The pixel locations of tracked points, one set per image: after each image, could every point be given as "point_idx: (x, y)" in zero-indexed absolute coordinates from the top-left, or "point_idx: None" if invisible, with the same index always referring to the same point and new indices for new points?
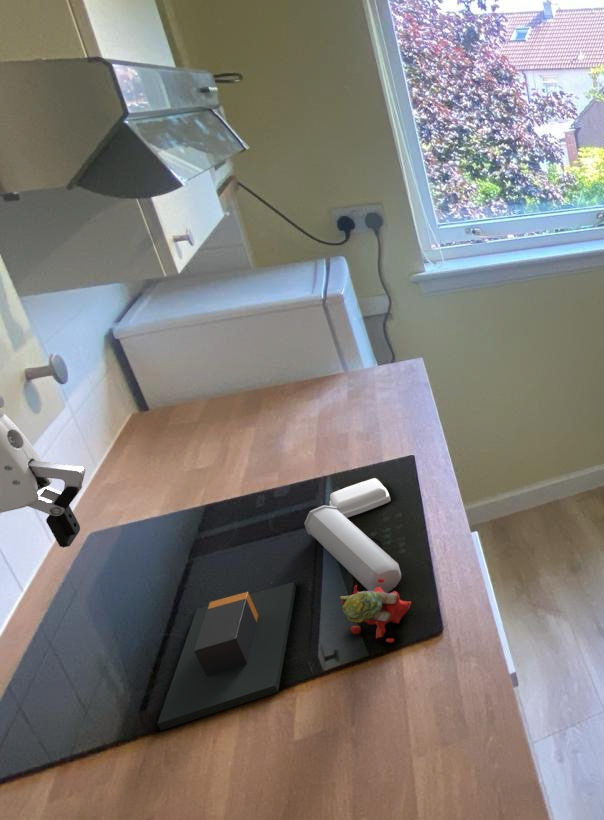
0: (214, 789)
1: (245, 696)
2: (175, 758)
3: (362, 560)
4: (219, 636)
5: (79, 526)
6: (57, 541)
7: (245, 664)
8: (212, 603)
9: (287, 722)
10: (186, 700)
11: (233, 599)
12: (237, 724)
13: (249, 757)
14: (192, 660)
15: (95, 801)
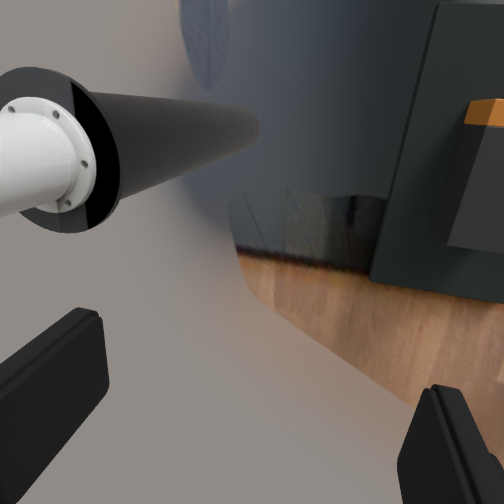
0: (412, 388)
1: (469, 297)
2: (381, 326)
3: None
4: (489, 232)
5: (494, 460)
6: (402, 494)
7: None
8: (499, 108)
9: (497, 352)
10: (403, 261)
11: None
12: (446, 319)
13: (449, 373)
14: (417, 174)
15: (314, 332)
